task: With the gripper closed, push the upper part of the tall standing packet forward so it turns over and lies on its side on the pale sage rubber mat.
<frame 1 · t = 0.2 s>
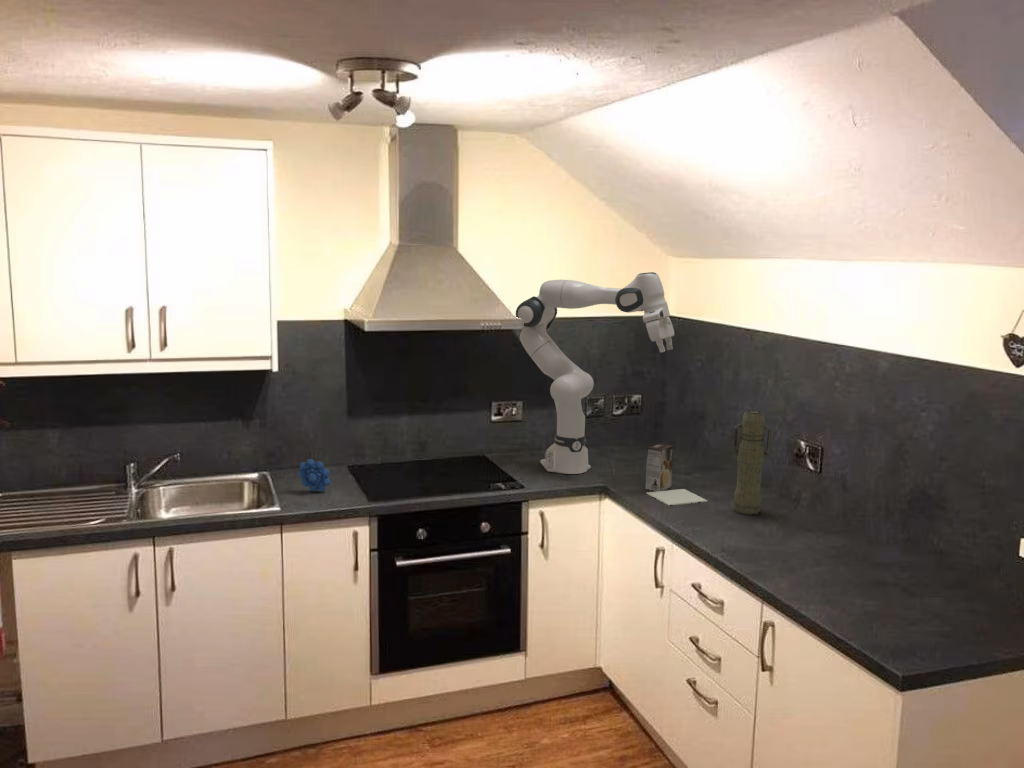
hand: (666, 350, 319), 51 cm above the worktop, tool tilted 20°, fingers open, 8 cm apart
mat: (676, 497, 311), on the worktop
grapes: (313, 493, 305), on the worktop
coffee box: (658, 488, 323), on the worktop
thermos: (746, 511, 298), on the worktop
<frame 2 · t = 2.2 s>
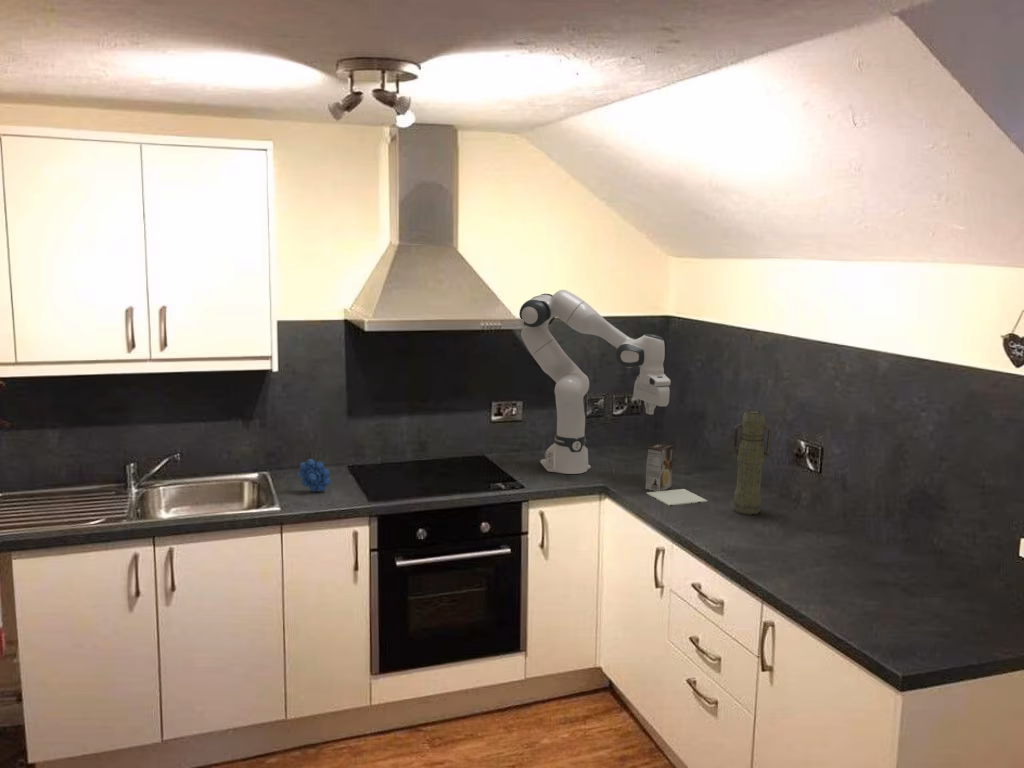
hand: (649, 413, 326), 27 cm above the worktop, tool pointing down, fingers closed
nothing on the worktop moved.
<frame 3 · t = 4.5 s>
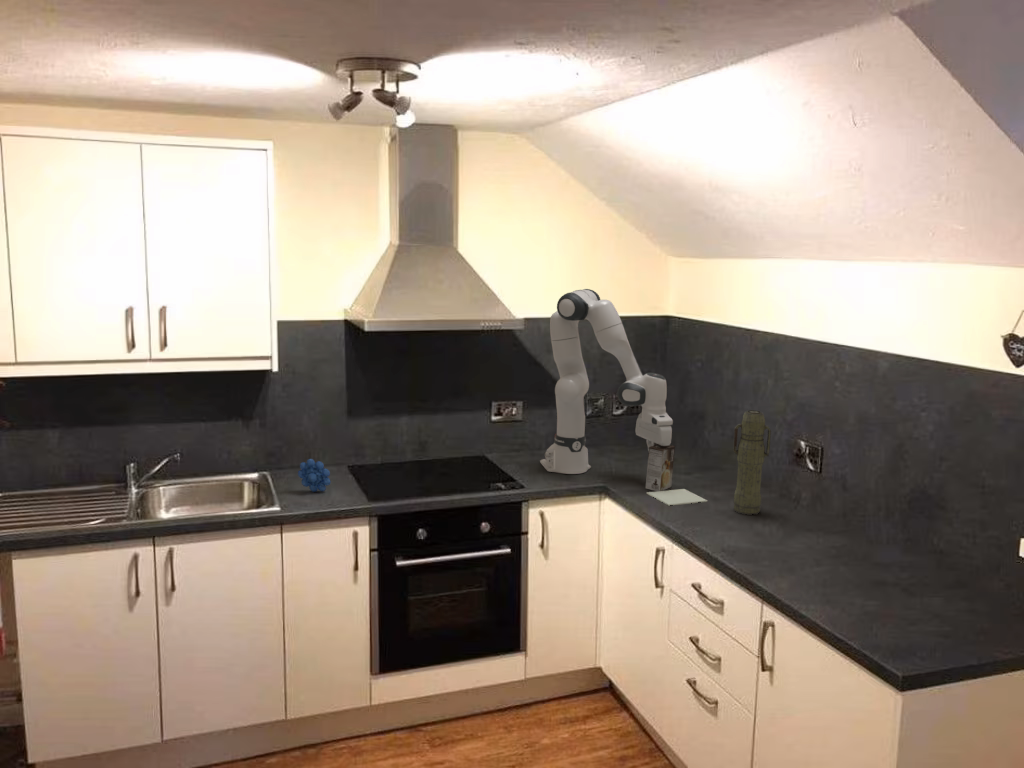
hand: (651, 452, 326), 12 cm above the worktop, tool pointing down, fingers closed
coffee box: (658, 488, 323), on the worktop, touching gripper
everything else where it was.
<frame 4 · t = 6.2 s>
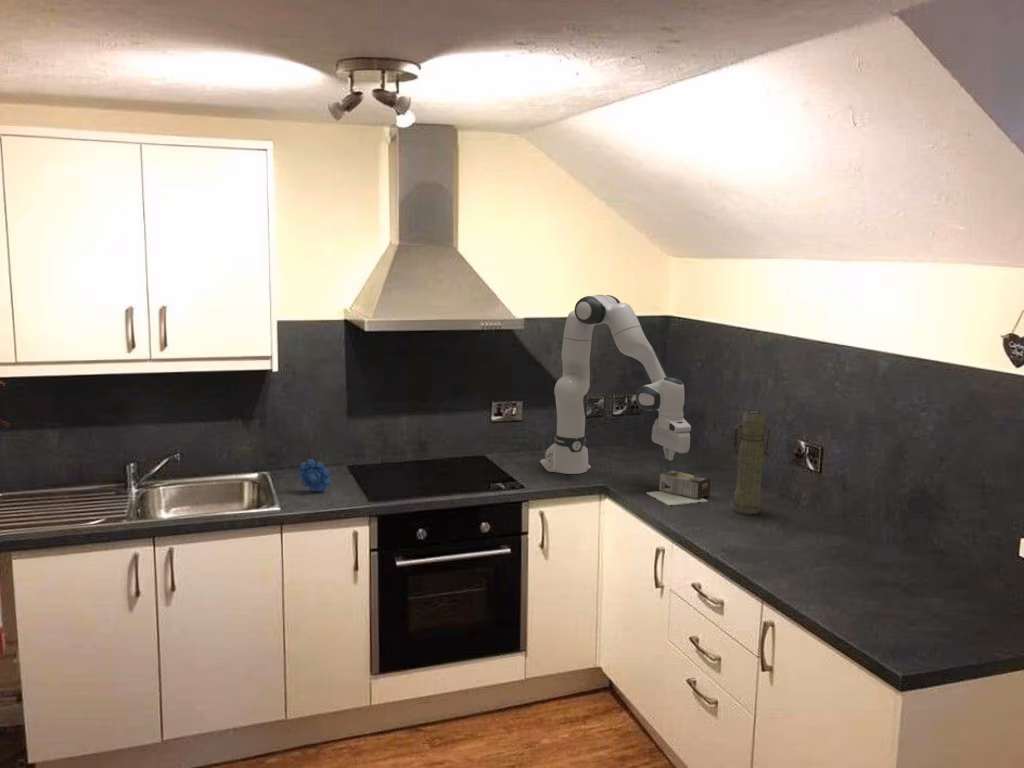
hand: (668, 459, 315), 12 cm above the worktop, tool pointing down, fingers closed
coffee box: (664, 480, 320), point 4 cm above the worktop, touching mat
everything else where it was.
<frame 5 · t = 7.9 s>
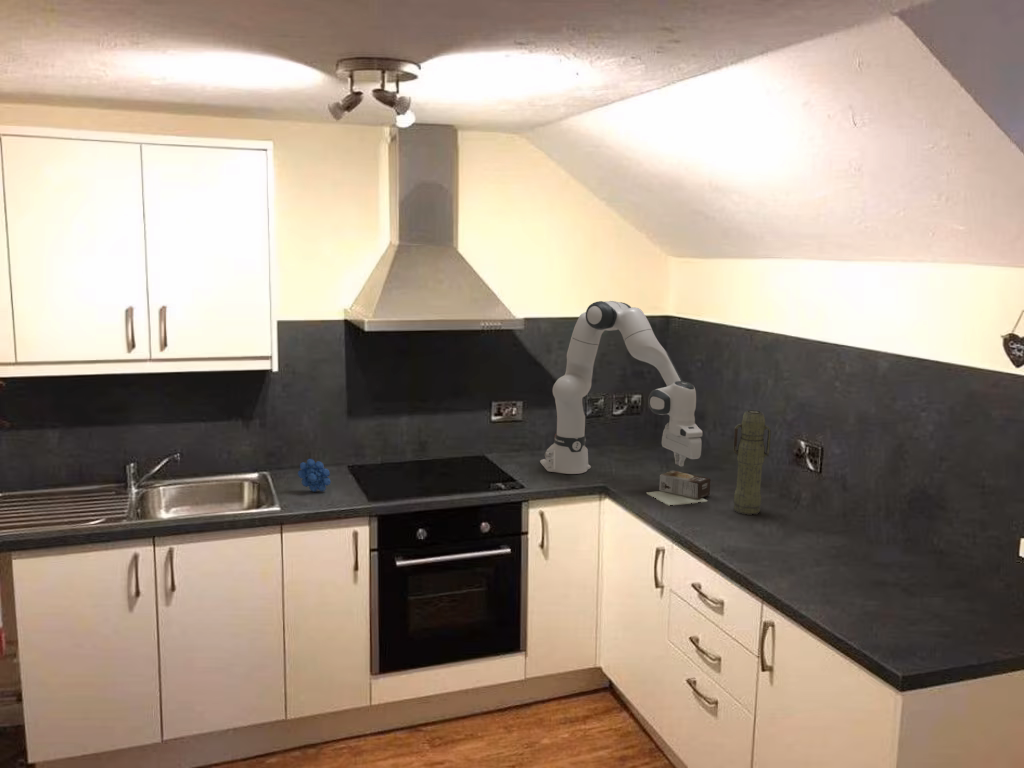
hand: (679, 465, 309), 12 cm above the worktop, tool pointing down, fingers closed
nothing on the worktop moved.
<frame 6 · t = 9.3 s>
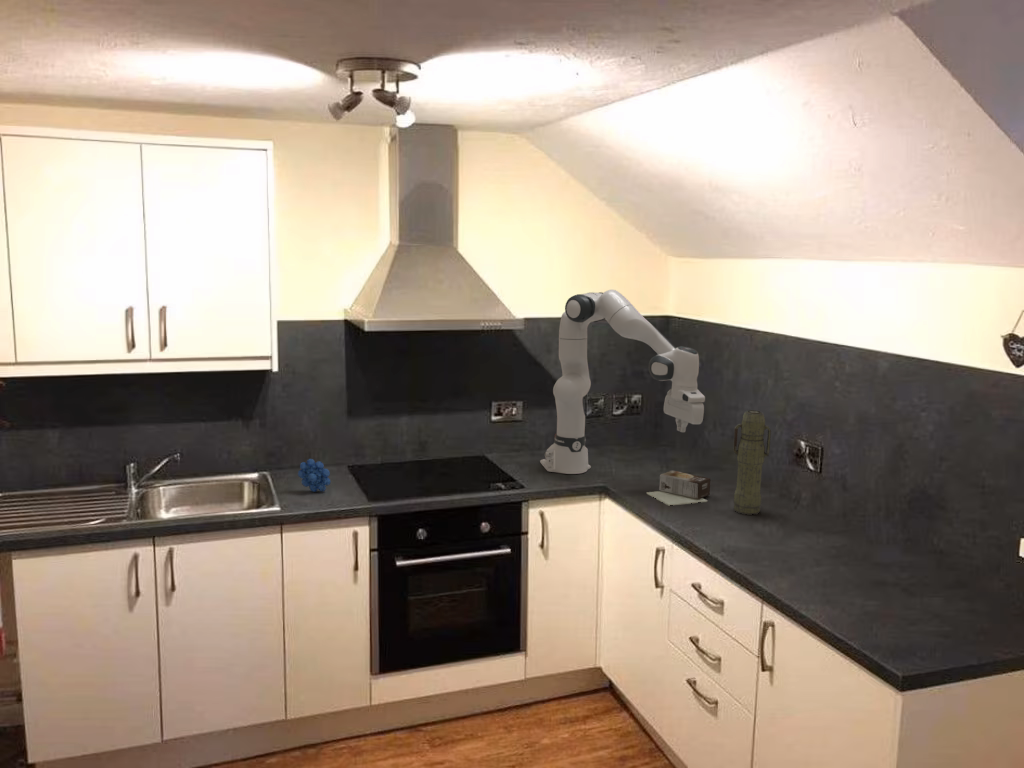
hand: (681, 431, 307), 25 cm above the worktop, tool pointing down, fingers closed
nothing on the worktop moved.
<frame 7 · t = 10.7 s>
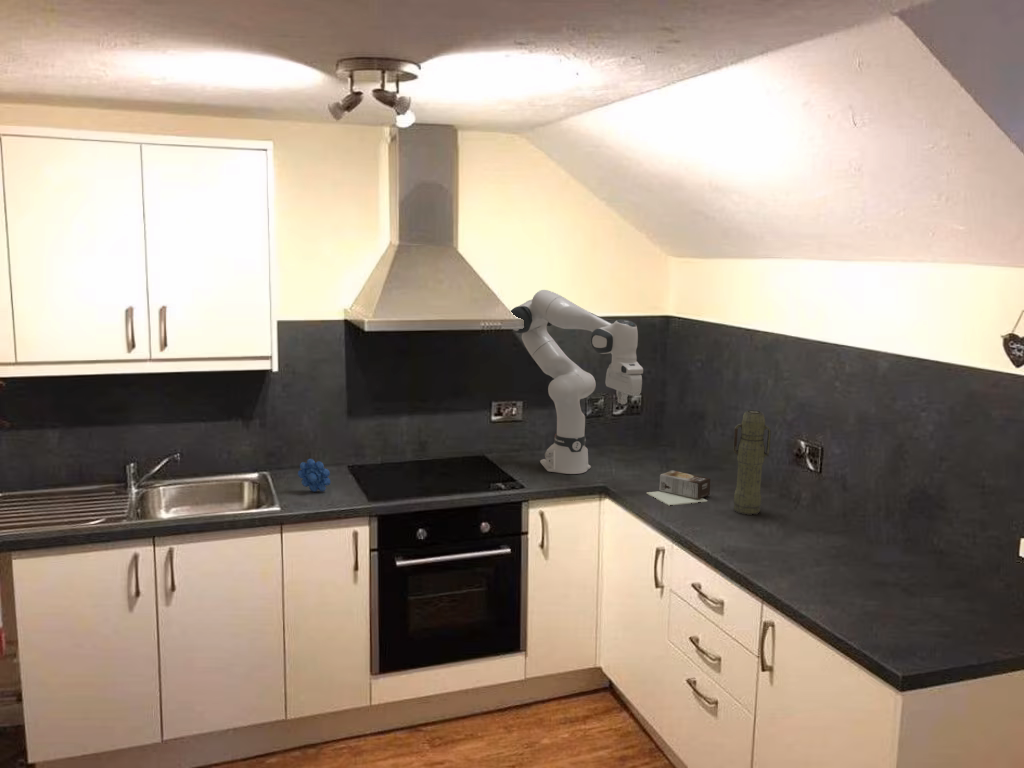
hand: (621, 403, 312), 33 cm above the worktop, tool pointing down, fingers closed
nothing on the worktop moved.
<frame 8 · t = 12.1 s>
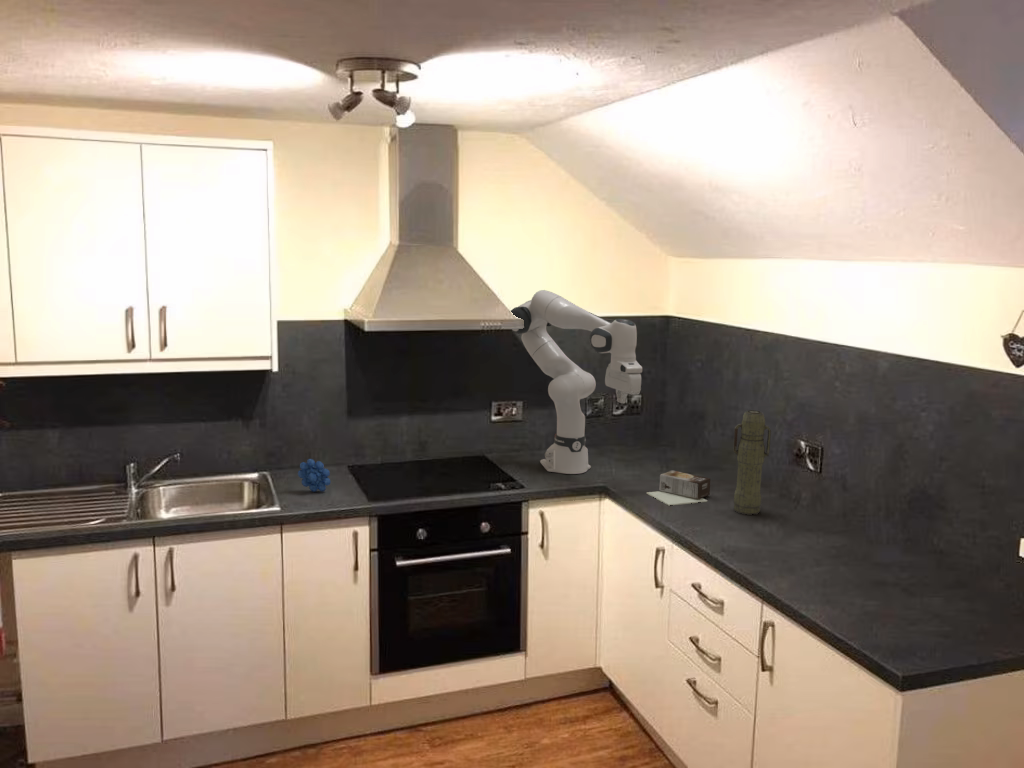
hand: (621, 402, 312), 33 cm above the worktop, tool pointing down, fingers closed
nothing on the worktop moved.
at the end: coffee box tilted 90°; coffee box inside the target area (6.6 cm from its centre), point 3.7 cm above the worktop; coffee box touching mat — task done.
